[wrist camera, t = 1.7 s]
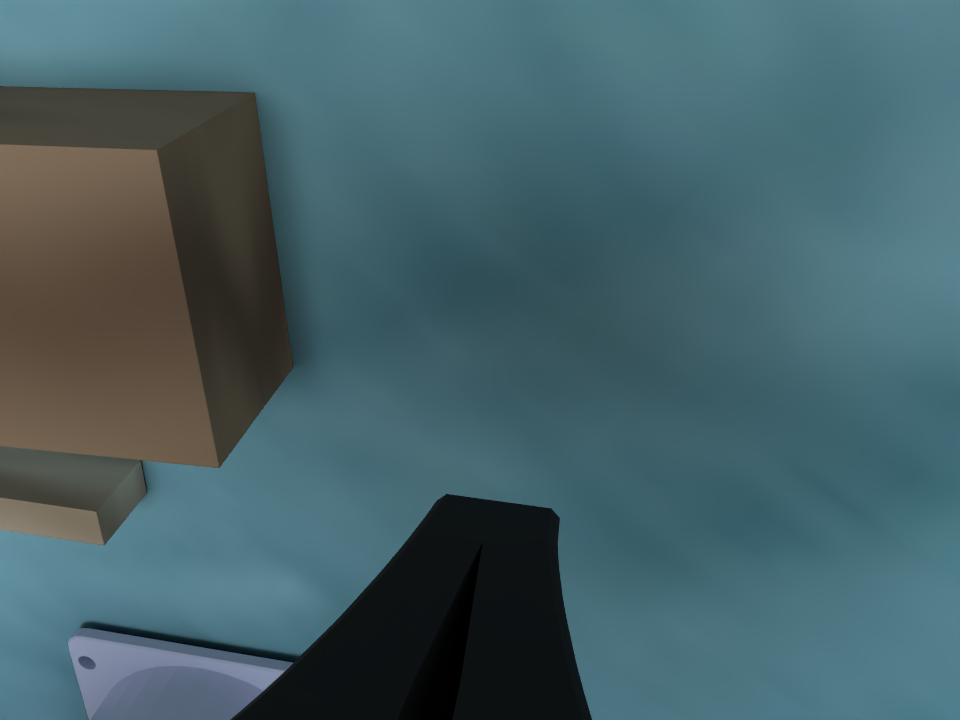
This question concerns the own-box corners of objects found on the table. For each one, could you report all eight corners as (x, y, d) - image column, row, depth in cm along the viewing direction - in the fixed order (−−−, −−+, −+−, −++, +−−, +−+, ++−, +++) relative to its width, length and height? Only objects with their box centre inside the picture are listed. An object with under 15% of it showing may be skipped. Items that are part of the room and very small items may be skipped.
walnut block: (296, 363, 20) (219, 468, 17) (15, 340, 21) (-110, 434, 18) (258, 90, 17) (156, 150, 14) (-64, 82, 19) (-231, 135, 15)
